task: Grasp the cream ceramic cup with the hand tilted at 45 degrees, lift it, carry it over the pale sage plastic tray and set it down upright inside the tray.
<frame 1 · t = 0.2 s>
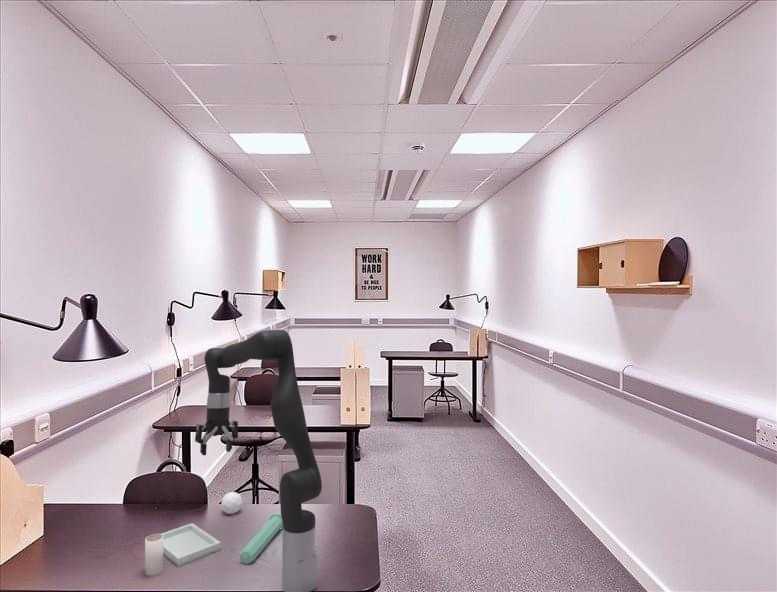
hand: (216, 453, 170), 29 cm above the table, tool pointing down, fingers open, 8 cm apart
tray: (185, 547, 162), on the table
cup: (153, 571, 148), on the table
geometric ball: (231, 513, 189), on the table
green faceted rod: (261, 546, 164), on the table
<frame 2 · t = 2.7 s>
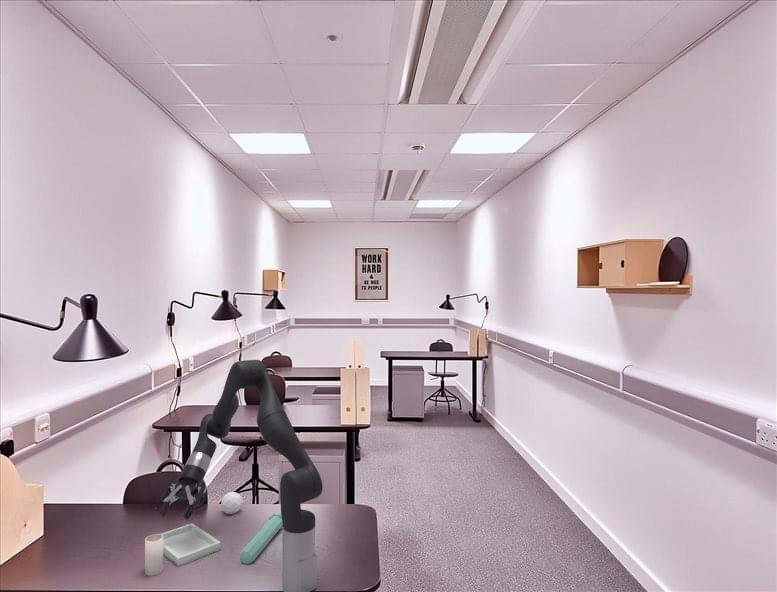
hand: (173, 516, 157), 12 cm above the table, tool tilted 45°, fingers open, 8 cm apart
nothing on the table moved.
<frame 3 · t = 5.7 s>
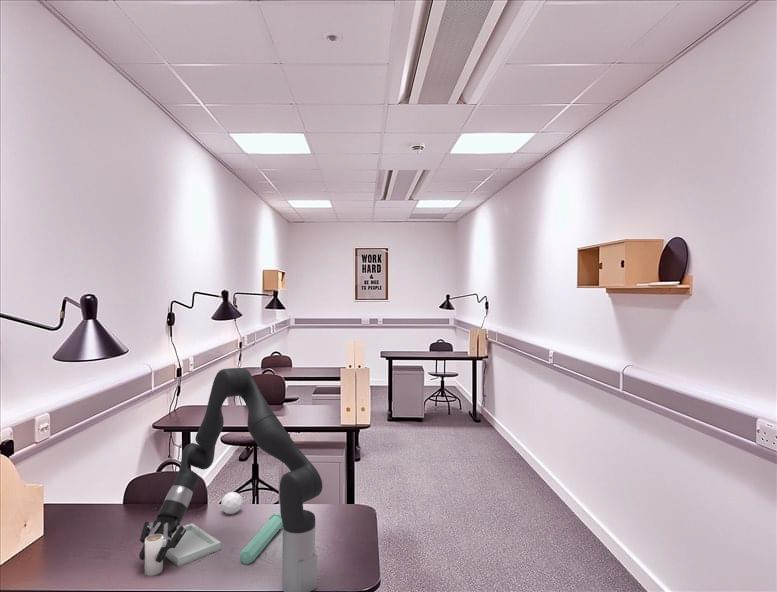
hand: (149, 560, 146), 4 cm above the table, tool tilted 45°, fingers closed on cup, 5 cm apart
cup: (153, 571, 148), on the table, touching gripper
everything else where it was.
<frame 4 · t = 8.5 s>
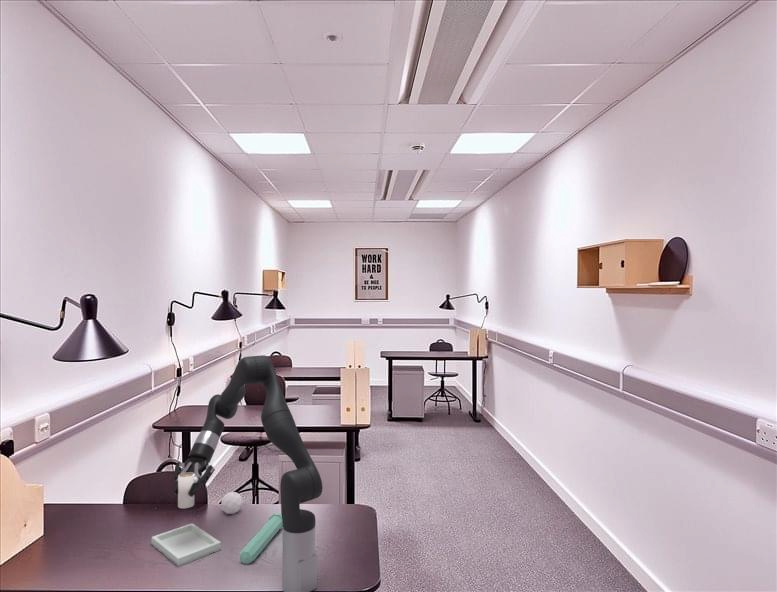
hand: (182, 494, 161), 18 cm above the table, tool tilted 45°, fingers closed on cup, 5 cm apart
cup: (186, 505, 162), point 14 cm above the table, touching gripper
everything else where it was.
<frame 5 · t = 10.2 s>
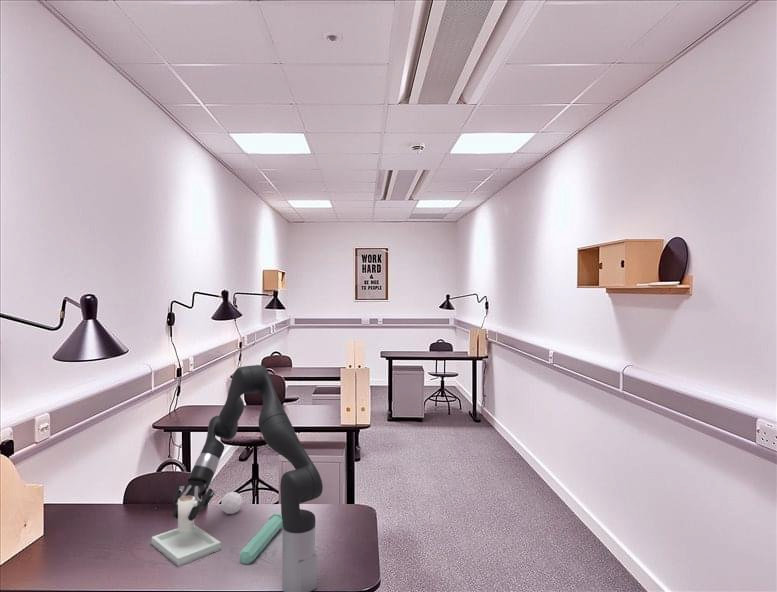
hand: (182, 518, 161), 10 cm above the table, tool tilted 45°, fingers closed on cup, 5 cm apart
cup: (185, 528, 162), point 6 cm above the table, touching gripper
everything else where it was.
when the fingers open (6 cm above the table, at t = 11.6 s): cup drops 1 cm, resting on tray.
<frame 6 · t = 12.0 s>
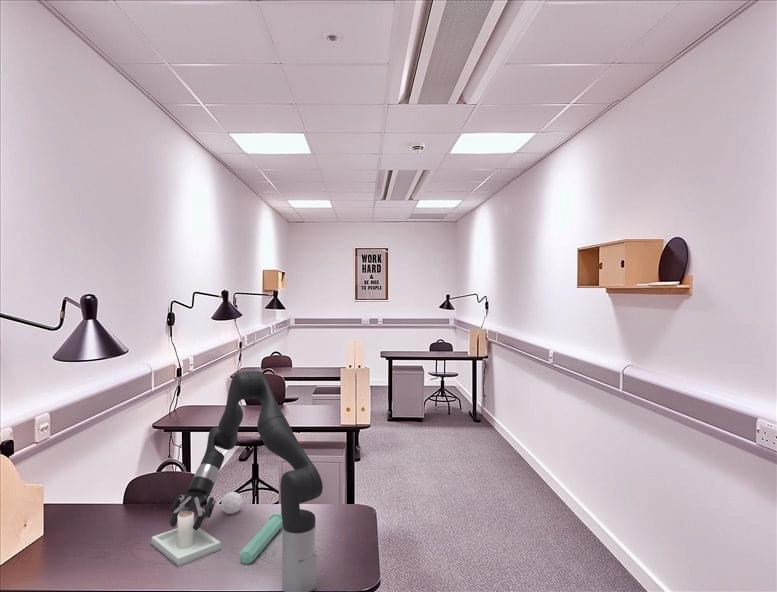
hand: (183, 527, 161), 7 cm above the table, tool tilted 45°, fingers open, 8 cm apart
cup: (185, 544, 162), point 1 cm above the table, touching tray
everything else where it was.
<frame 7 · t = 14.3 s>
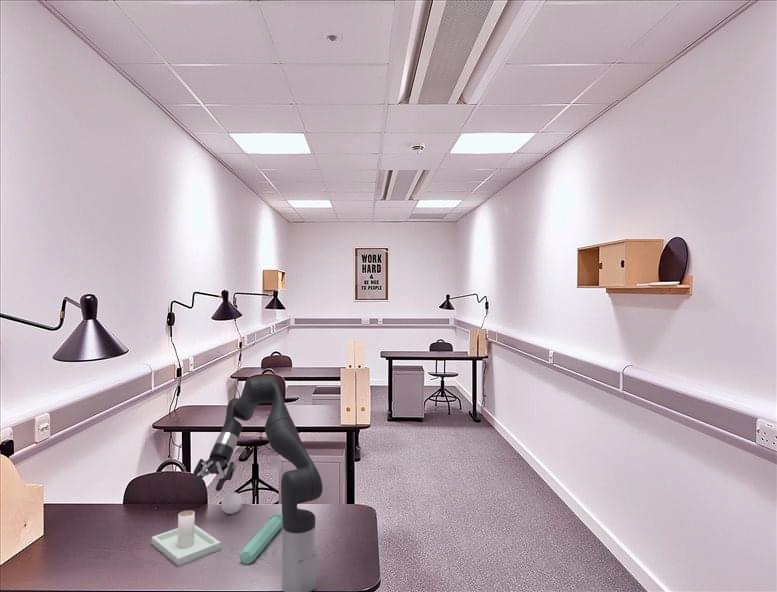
hand: (206, 489, 174), 15 cm above the table, tool tilted 45°, fingers open, 8 cm apart
nothing on the table moved.
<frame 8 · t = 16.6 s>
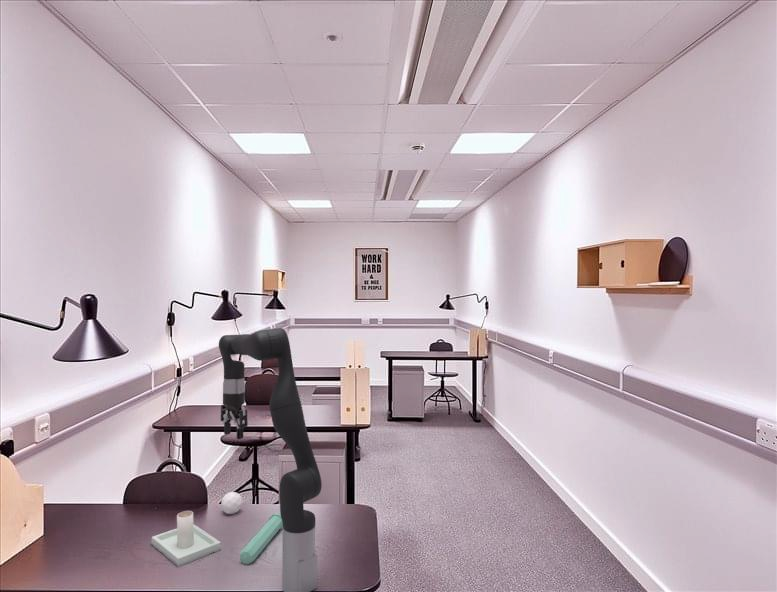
hand: (233, 436, 175), 33 cm above the table, tool pointing down, fingers open, 8 cm apart
nothing on the table moved.
at the end: cup inside the target area on the tray (0.1 cm from its centre), point 0.9 cm above the tray's base; cup tilted 2°; the gripper is holding nothing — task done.
